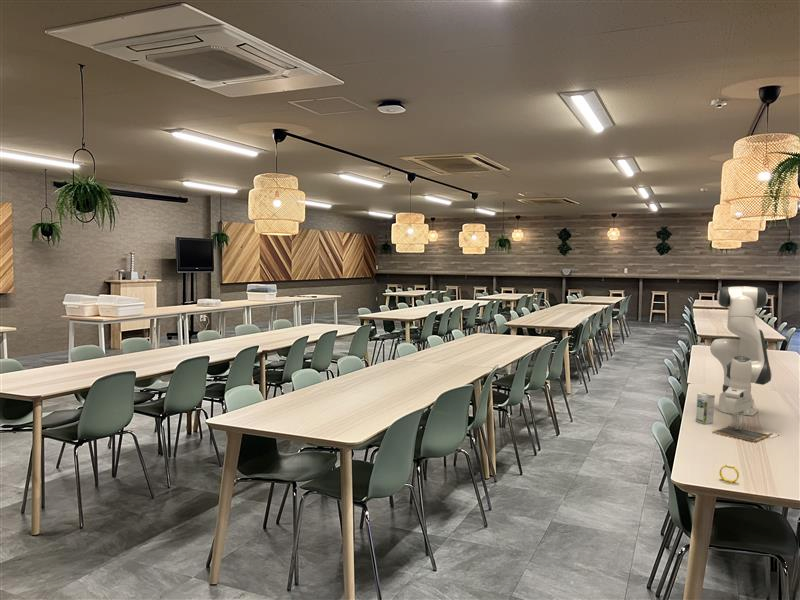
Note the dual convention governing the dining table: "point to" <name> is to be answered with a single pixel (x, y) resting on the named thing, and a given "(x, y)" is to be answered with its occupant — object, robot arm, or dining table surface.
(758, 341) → the robot arm
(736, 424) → the small white bottle
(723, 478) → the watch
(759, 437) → the brown slatted mat
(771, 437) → the word card
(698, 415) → the syrup box
